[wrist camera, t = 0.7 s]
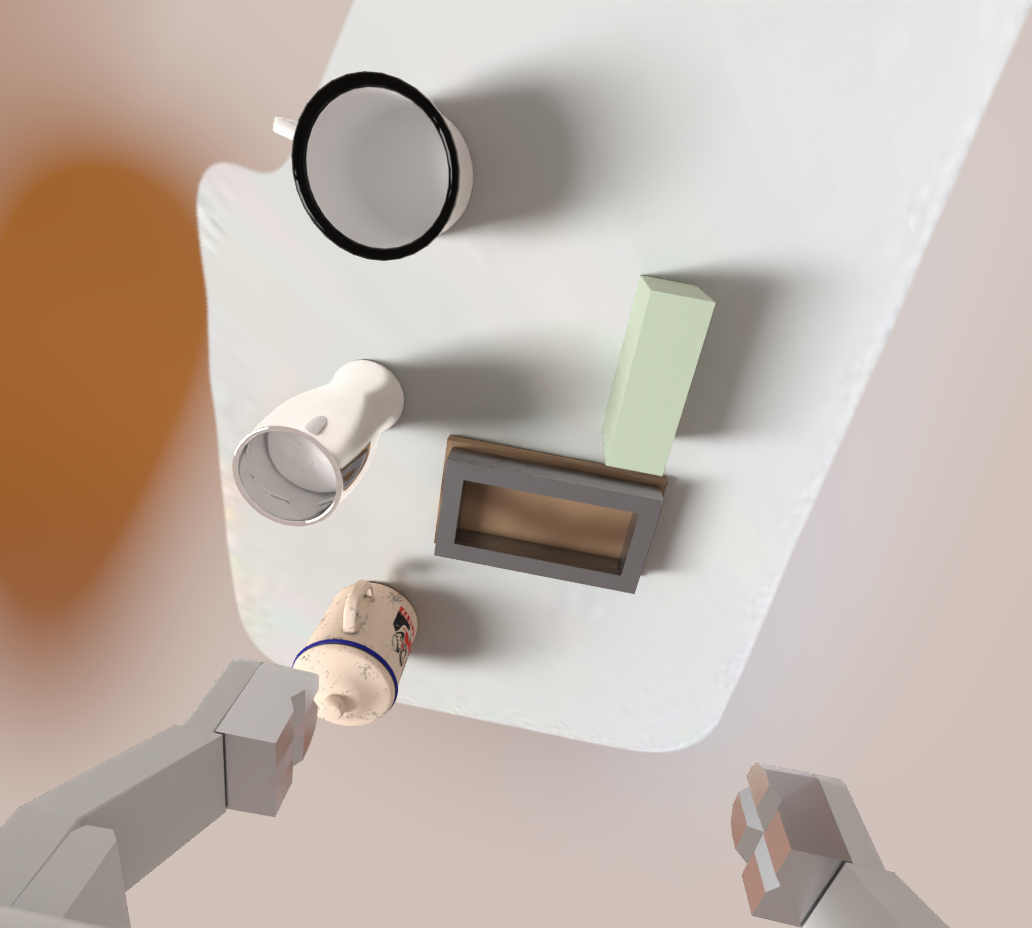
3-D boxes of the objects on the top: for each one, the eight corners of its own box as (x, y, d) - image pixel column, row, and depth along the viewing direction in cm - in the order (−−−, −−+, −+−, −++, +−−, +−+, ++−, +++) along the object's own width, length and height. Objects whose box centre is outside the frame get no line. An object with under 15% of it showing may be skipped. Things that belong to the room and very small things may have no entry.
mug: (502, 129, 40) (482, 114, 31) (456, 267, 44) (428, 287, 35) (329, 52, 39) (263, 17, 30) (298, 201, 43) (232, 205, 34)
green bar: (639, 274, 43) (650, 290, 36) (695, 285, 43) (715, 302, 36) (601, 428, 48) (605, 465, 42) (651, 437, 48) (662, 476, 42)
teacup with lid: (419, 659, 60) (385, 761, 49) (329, 645, 60) (277, 743, 50) (425, 560, 55) (389, 650, 44) (327, 545, 55) (269, 630, 44)
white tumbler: (427, 402, 48) (369, 487, 35) (369, 451, 50) (293, 549, 37) (365, 335, 46) (278, 398, 33) (308, 390, 49) (204, 469, 35)
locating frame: (449, 434, 49) (441, 452, 46) (665, 476, 49) (671, 496, 46) (436, 536, 53) (427, 558, 50) (635, 575, 53) (638, 599, 50)
